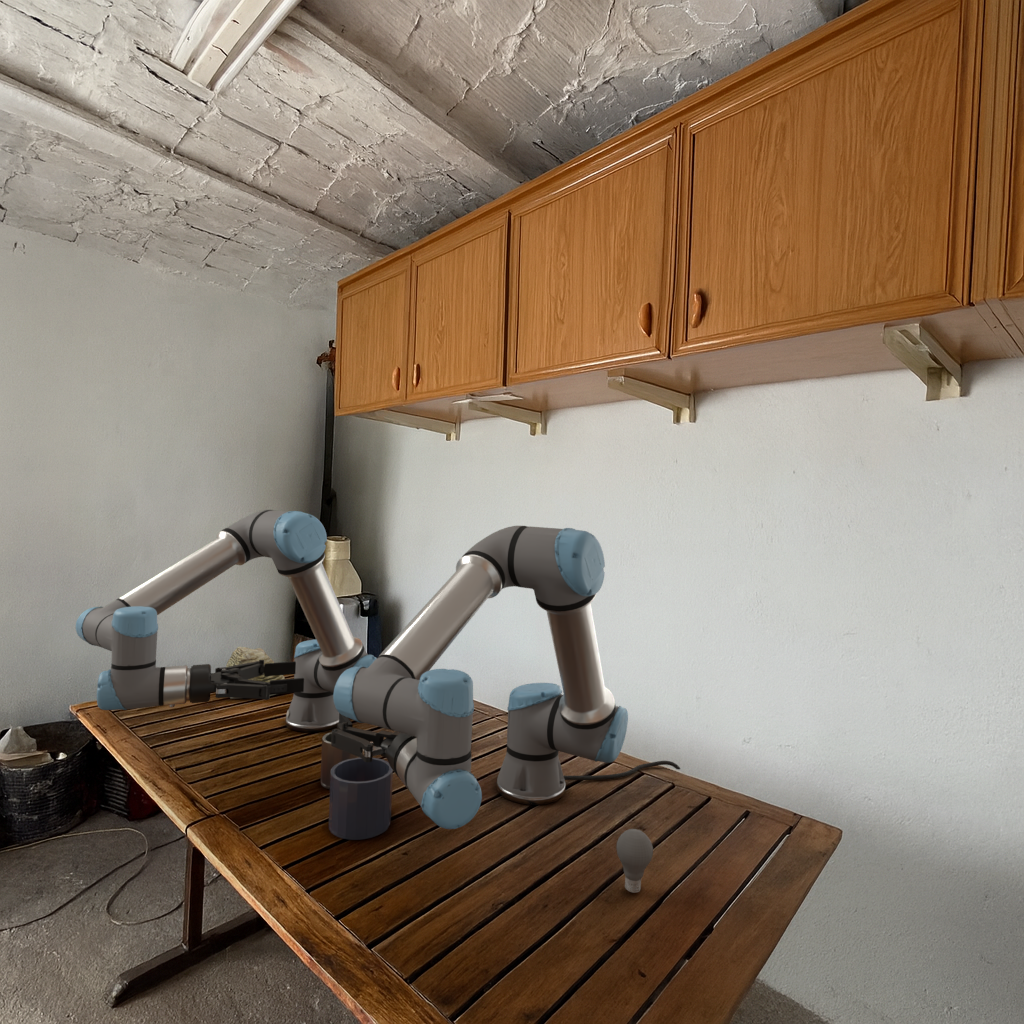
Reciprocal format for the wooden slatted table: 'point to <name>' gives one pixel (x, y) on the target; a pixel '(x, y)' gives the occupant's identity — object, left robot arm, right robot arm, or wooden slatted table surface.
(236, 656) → the fossil
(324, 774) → the cup
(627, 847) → the light bulb
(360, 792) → the tub
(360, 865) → the wooden slatted table surface
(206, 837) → the wooden slatted table surface
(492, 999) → the wooden slatted table surface
